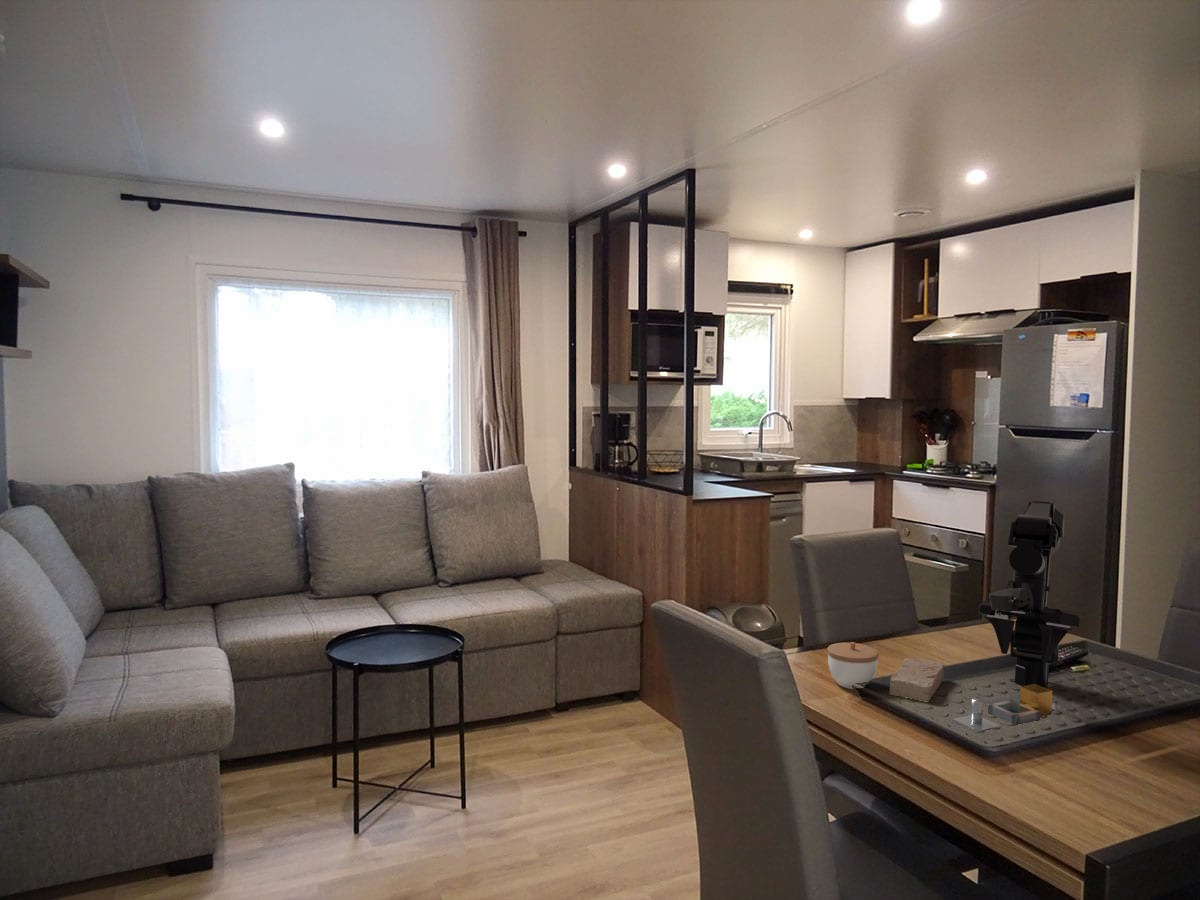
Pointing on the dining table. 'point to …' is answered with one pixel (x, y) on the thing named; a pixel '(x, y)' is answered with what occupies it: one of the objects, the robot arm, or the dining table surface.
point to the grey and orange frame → (1025, 705)
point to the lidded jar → (852, 663)
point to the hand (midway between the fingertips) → (1023, 657)
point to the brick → (917, 679)
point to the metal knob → (976, 718)
